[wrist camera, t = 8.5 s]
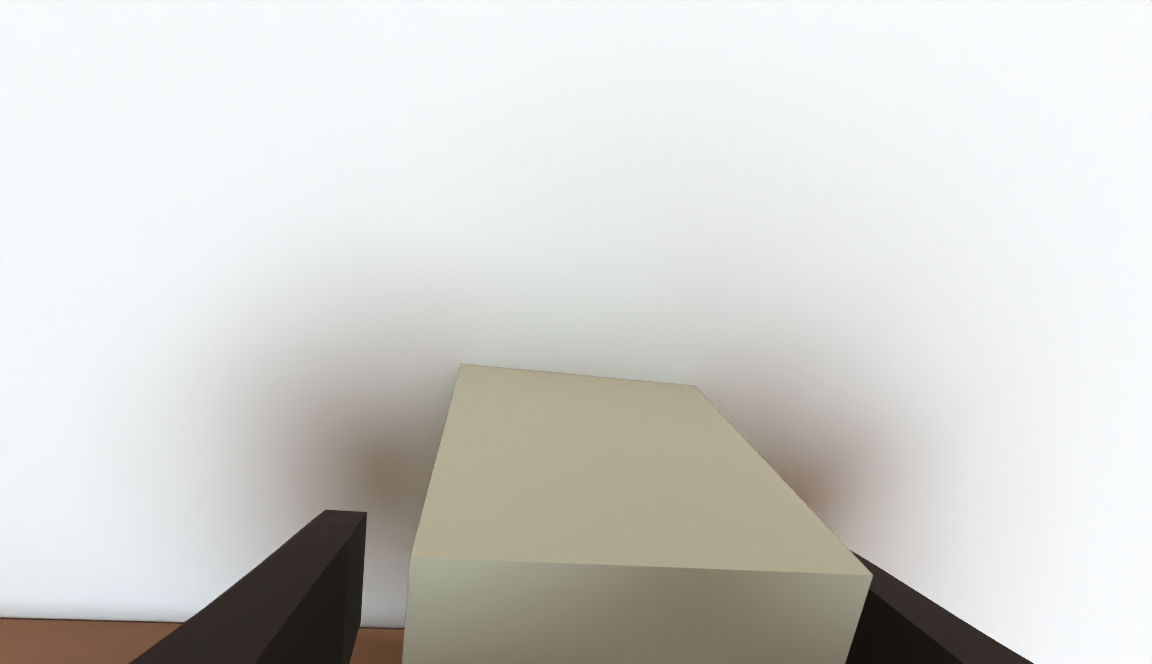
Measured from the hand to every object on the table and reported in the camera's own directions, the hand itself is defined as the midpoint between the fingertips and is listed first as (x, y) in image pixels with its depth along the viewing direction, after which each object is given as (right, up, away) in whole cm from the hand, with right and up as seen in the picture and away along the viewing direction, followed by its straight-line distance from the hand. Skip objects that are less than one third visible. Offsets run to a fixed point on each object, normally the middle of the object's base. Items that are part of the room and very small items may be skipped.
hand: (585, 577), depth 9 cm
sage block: (0, +1, +3) cm, 3 cm away
